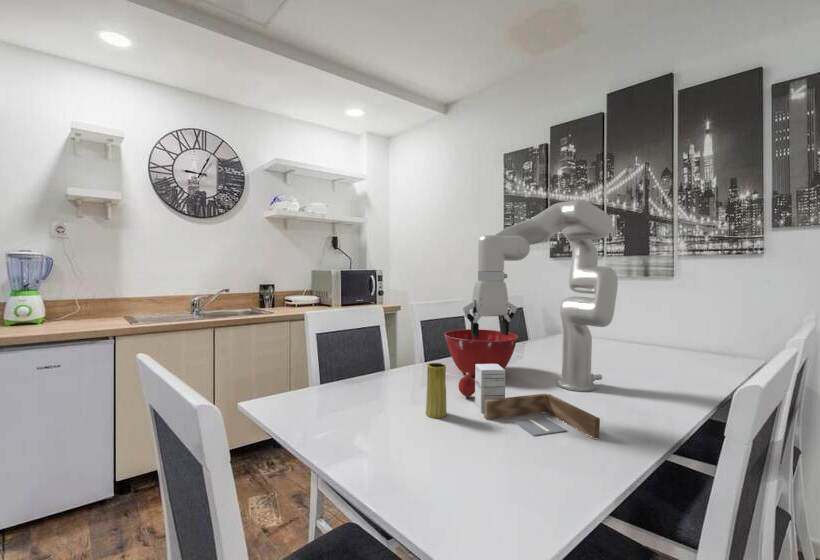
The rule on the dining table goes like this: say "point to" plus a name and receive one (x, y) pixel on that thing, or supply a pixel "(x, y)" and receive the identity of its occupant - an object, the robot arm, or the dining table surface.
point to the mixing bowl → (480, 348)
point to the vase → (436, 390)
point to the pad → (539, 426)
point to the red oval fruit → (467, 385)
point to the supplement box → (488, 383)
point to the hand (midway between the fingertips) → (489, 335)
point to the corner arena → (543, 404)
